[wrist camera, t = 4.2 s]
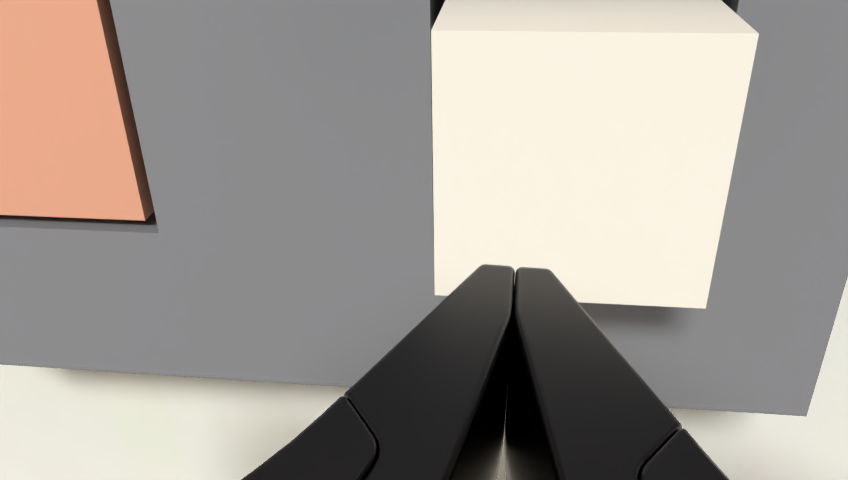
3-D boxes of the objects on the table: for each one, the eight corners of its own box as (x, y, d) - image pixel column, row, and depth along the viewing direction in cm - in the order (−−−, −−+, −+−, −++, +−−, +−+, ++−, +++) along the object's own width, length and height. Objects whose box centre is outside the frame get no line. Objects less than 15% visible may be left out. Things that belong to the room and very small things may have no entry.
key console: (862, -269, 16) (1021, -315, 11) (742, 282, 23) (806, 416, 18) (-145, -235, 19) (-401, -259, 14) (11, 248, 26) (-121, 356, 20)
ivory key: (704, -15, 15) (759, 34, 11) (669, 211, 17) (705, 309, 14) (452, -16, 15) (430, 30, 12) (452, 204, 18) (434, 295, 14)
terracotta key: (177, -35, 18) (95, -3, 15) (208, 154, 21) (145, 220, 17) (-12, -35, 19) (-133, -5, 15) (40, 150, 21) (-55, 212, 18)
